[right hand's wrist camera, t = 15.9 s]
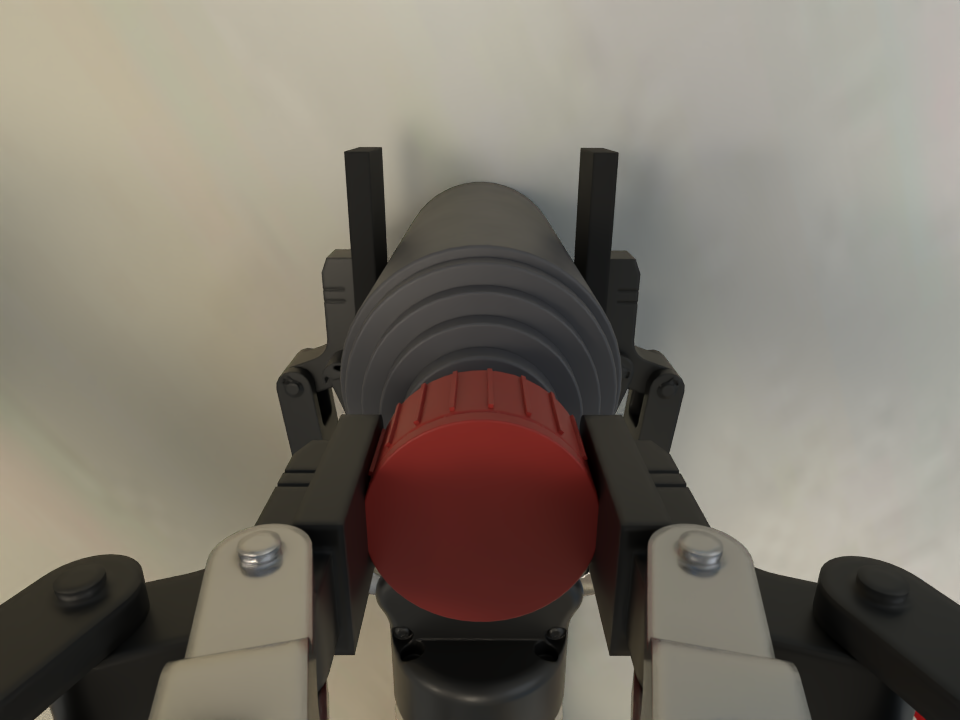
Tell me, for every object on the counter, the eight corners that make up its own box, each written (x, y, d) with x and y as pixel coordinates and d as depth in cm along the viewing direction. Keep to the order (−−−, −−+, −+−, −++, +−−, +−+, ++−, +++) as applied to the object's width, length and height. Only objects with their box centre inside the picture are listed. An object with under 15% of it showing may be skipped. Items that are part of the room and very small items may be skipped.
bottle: (394, 188, 28) (232, 333, 9) (553, 175, 27) (697, 297, 9) (413, 338, 30) (312, 682, 12) (559, 327, 30) (683, 659, 12)
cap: (364, 375, 12) (340, 427, 10) (582, 358, 11) (602, 407, 9) (392, 554, 13) (376, 632, 11) (587, 541, 13) (606, 616, 11)
